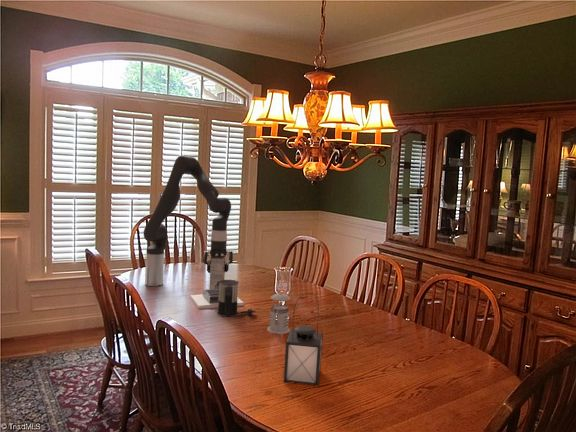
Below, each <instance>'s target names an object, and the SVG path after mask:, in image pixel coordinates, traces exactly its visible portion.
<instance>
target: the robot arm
mask: <svg viewBox="0 0 576 432" xmlns="http://www.w3.org/2000/svg"><path fill="white" fill-rule="evenodd" d="M183 175H187V176H188V175H189V176H190V175H191V176H192V177H193V178H194V179H195V180H196V182H197V189H198V191H199V192H200V194H201V195H202V196H203V198H205V200H206V204H207V206H208V208H209V210H210V211H211V212H212V213H214V214H218V215H217V216H216V217H214V218H212V223H211V224H212V225H211V233H210V235H211V237H210V251H206V250H204V251H203V258H202V259H203V260H202V263H203V264H204V265H206V271H207V273H208V274H210V263H211V256H225V273H227V272H228V271H229V267H230V265H231V264H233V263H234V261H233V260H234V257H233V255H234V253H233V252H234V251H232V250H228V251H227V245H228V243H227V242H228V231H227V230H228V228H227V227H228V220H229V217H230V214H231V211H232V203H231V201H230V199H229V198H226V197H221V198H220V197H219V194H220V193H219V191H218V189H217V188H216V186H214V184H213V183H212V182H211V181H210V180H209V178H208V177H207V175H206V173H205V172H204V170H203V167H202V166H201V164H200V163H199V161H198V160H197V159H196V157H194V156H188V155H184V154H183V155H179V156H177V158H175V161H174V162H173V166H172V168H171V171H170V174H169V178H168V180H167V183H166V185H165V187H164V190H163V191H162V194H161V196H160V198H159V199H158V200H159V201H158V202H157V205H156V207H155V209H154V211H153V213H152V214H151V217H150V218H149V220H148V221H147V223H146V224H145V227H144V229H143V238H144V239H145V241H147V242H151V244H150V245H149V246H148V247H146V252H145V253H146V254H145V255H146V257H145V258H146V260H145V271H144V272H145V273H144V277H145V278H144V284H145V285H147V286H146V287H160V286H159V285H161V286H163V285H164V272H165V271H164V266H165V265H164V264H165V249H166V247H167V236H168V234H167V228H166V226H165V225H164V223H163V222H164V221H165V219H167V218H168V217H169V216H170V215H171V214H172V213H173V212H174V210H175V209H176V208H177V206H178V203H179V202H180V199H181V190H180V189H181V188H180V183H181V179H183V178H182V177H183ZM227 255H228V259H227V257H226V256H227ZM209 256H210V257H209ZM208 257H209V258H208ZM162 284H163V285H162Z"/></svg>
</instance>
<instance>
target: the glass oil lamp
mask: <svg viewBox="0 0 576 432" xmlns="http://www.w3.org/2000/svg"><path fill="white" fill-rule="evenodd" d="M279 274H280V275H284V274H285V271H284V270H280V272H279ZM280 279H281V281H280V282H281V283H280V288H282V283H283V282H282V281H283V277H281V278H280ZM270 299H271V300H272V301H275V302H279V304H277V303H274V305H271V309H270V313H269V315H270V316H269V326H268V327H267V328H266V330H267V331H268V332H270V333H272V334H275V335H276V334H278V335H283V334H284V335H285V334H289V332H290V330H291V328H289V321H290V320H289V318H290V316H289V315H290V310H289V308H290V307H289V306H288V305H286V304H285V305H284V304H281V302H286V301H287V302H288V301H290V300H291V297H290V296H289V295H287V294H286V293H282V292H280V293H274V294H273V295H271V296H270Z"/></svg>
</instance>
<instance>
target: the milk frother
mask: <svg viewBox="0 0 576 432" xmlns="http://www.w3.org/2000/svg"><path fill="white" fill-rule="evenodd" d="M239 283H240V282H239V280H236V279H234V280H233V279H224V280H220V281H219V301H218V307H217V312H216V313H217V314H218V316H221V317H234V316H237V315H241V314H242V315H243V314H248V316H252V315H253V313H256V310H253V309H252V308H250V309H247V310H243V311H239V312H238V306H237V298H239V297H238V294H239V292H238V291H239Z"/></svg>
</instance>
